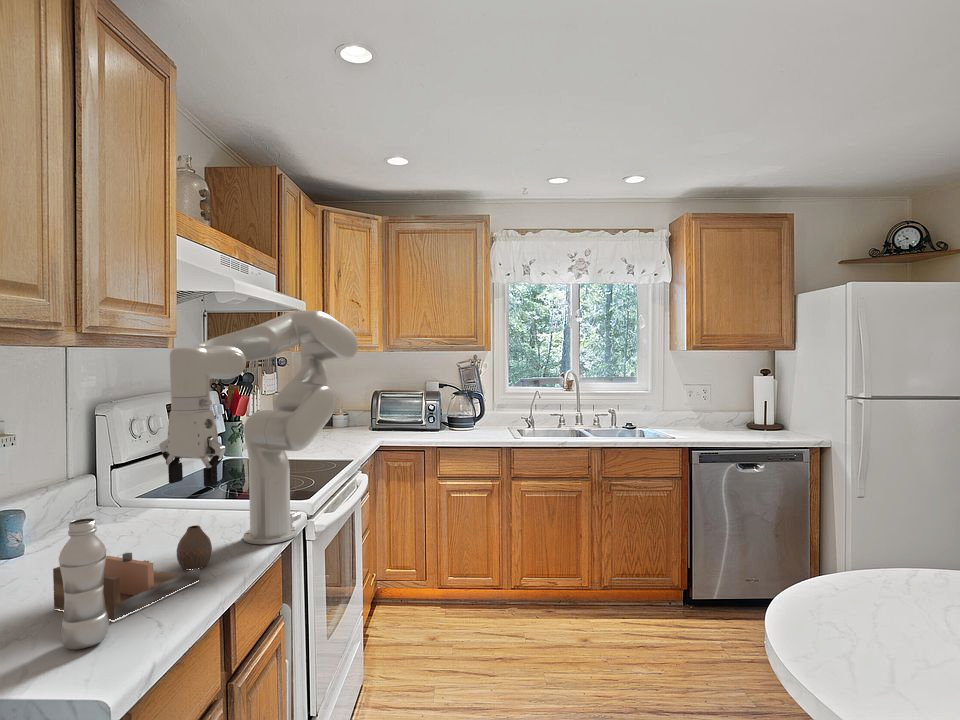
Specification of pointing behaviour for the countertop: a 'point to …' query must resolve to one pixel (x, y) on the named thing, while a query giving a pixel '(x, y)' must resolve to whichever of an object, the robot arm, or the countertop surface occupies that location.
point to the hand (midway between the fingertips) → (193, 483)
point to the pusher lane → (126, 603)
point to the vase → (194, 548)
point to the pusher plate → (130, 573)
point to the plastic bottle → (83, 586)
